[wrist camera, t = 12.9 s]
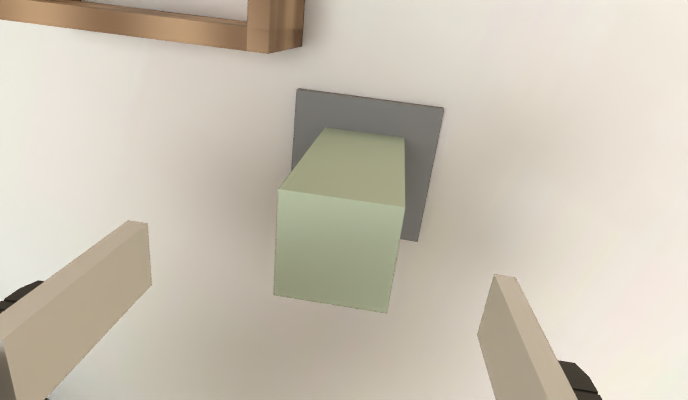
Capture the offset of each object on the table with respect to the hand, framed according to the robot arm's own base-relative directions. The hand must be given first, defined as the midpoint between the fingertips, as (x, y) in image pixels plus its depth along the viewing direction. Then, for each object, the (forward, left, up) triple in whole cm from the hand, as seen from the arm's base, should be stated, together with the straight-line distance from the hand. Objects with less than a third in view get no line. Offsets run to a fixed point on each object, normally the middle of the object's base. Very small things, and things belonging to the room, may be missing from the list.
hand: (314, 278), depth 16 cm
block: (0, 0, -13) cm, 13 cm away
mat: (0, 0, -13) cm, 13 cm away
